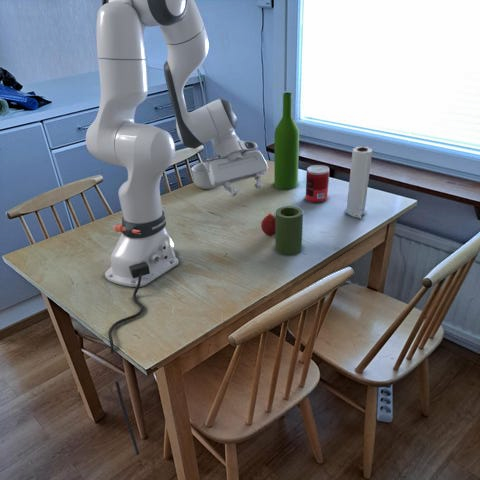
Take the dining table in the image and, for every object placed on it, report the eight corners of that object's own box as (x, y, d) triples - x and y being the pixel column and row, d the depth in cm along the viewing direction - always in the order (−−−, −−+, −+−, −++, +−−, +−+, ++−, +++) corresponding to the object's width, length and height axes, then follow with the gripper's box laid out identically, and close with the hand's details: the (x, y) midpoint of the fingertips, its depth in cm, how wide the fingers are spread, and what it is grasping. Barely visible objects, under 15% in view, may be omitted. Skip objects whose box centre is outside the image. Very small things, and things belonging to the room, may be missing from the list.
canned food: (330, 196, 168) (333, 166, 161) (321, 204, 163) (323, 174, 156) (311, 192, 172) (313, 163, 165) (301, 200, 166) (303, 170, 160)
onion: (283, 235, 147) (283, 211, 142) (271, 242, 144) (271, 218, 139) (269, 230, 150) (269, 207, 145) (257, 236, 147) (257, 213, 142)
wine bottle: (302, 184, 178) (305, 92, 158) (287, 191, 173) (289, 97, 153) (284, 178, 183) (285, 89, 163) (269, 185, 178) (269, 94, 158)
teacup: (217, 192, 176) (215, 171, 171) (189, 191, 178) (187, 170, 173) (225, 178, 187) (224, 158, 182) (199, 177, 189) (197, 158, 184)
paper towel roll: (348, 207, 160) (355, 145, 147) (366, 210, 158) (374, 146, 145) (343, 216, 155) (349, 152, 142) (361, 219, 153) (369, 154, 140)
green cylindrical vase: (296, 257, 136) (297, 219, 128) (271, 252, 139) (271, 215, 131) (305, 245, 141) (307, 208, 134) (281, 240, 144) (281, 204, 137)
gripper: (204, 154, 143) (221, 194, 142) (260, 141, 151) (276, 179, 150) (199, 164, 149) (216, 203, 148) (253, 151, 157) (269, 188, 156)
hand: (247, 191), depth 149 cm, fingers open, 8 cm apart
